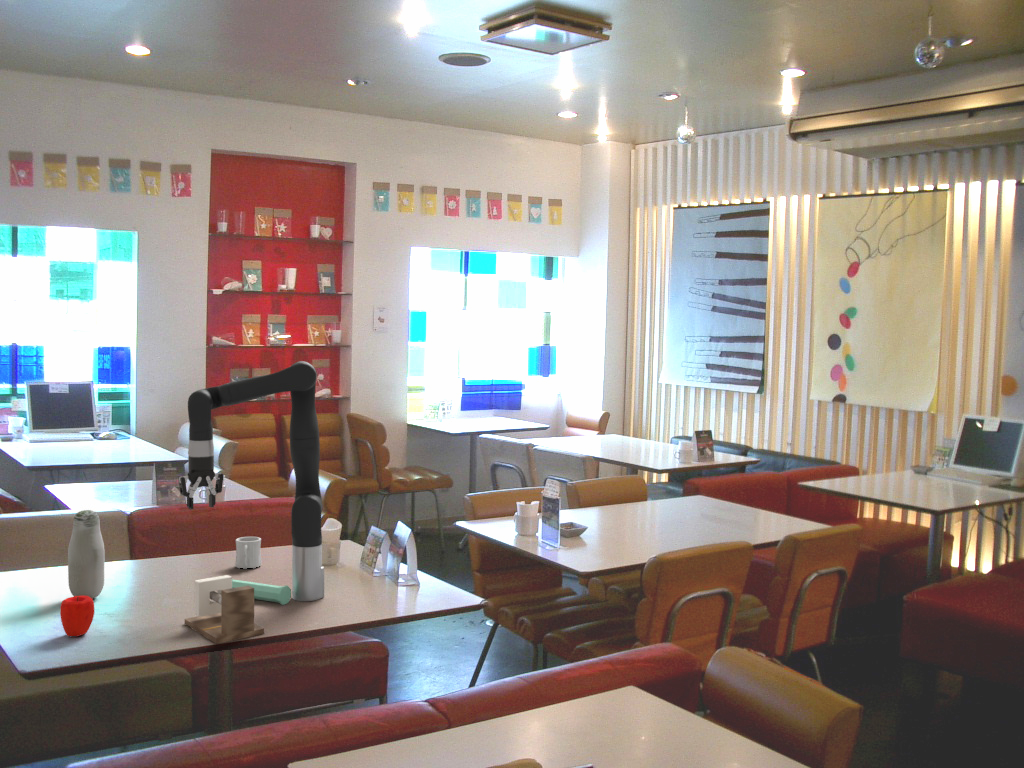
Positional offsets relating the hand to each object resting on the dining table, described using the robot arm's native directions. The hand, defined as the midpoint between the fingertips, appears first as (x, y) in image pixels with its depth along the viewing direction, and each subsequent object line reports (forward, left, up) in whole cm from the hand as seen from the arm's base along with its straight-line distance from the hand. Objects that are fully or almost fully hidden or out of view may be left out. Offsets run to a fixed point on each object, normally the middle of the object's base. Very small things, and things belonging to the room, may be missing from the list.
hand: (201, 507), depth 300 cm
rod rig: (+6, +30, -30) cm, 43 cm away
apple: (+40, +11, -30) cm, 51 cm away
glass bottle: (+27, -24, -30) cm, 47 cm away
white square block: (+6, +23, -27) cm, 36 cm away
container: (-17, +5, -27) cm, 32 cm away
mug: (-30, -31, -30) cm, 52 cm away
